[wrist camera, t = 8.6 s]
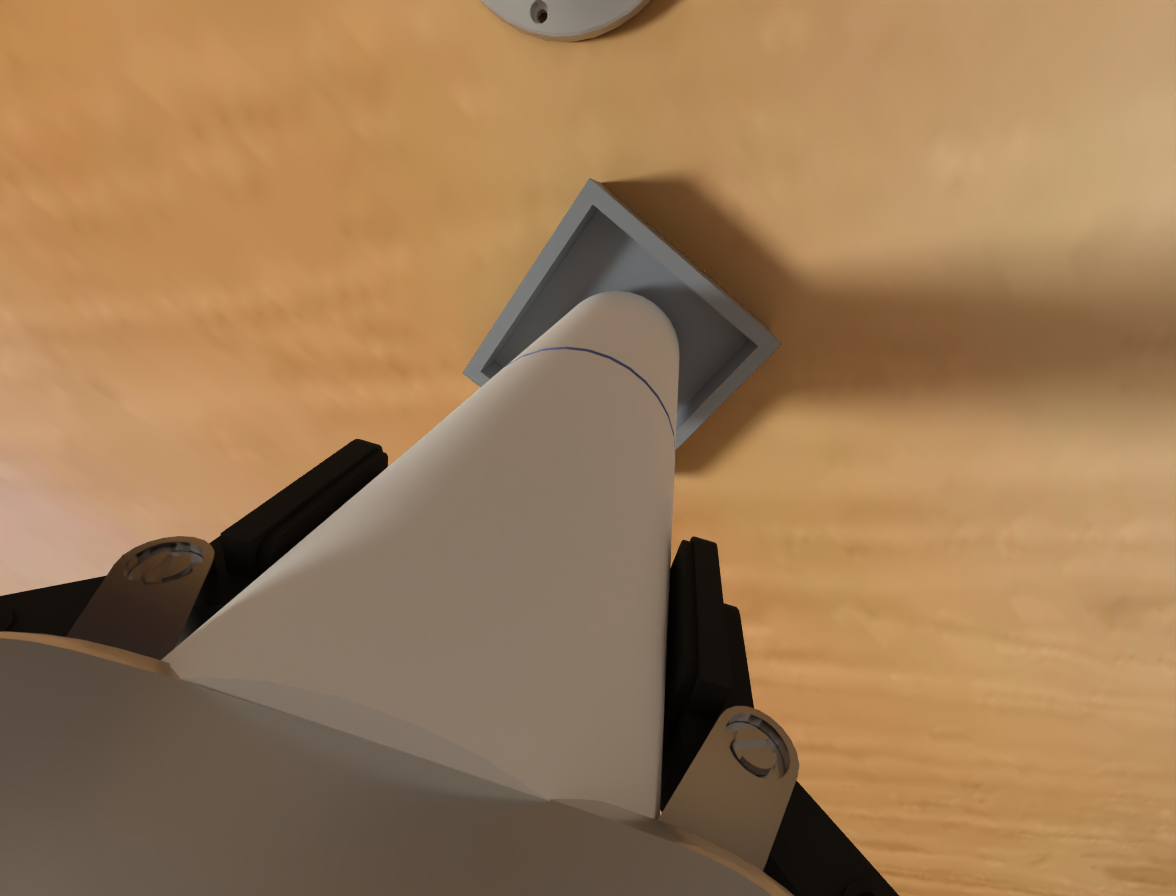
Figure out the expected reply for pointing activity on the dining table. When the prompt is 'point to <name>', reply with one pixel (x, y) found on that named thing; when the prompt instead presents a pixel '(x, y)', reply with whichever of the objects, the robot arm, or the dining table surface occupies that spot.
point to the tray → (644, 267)
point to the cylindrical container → (493, 578)
